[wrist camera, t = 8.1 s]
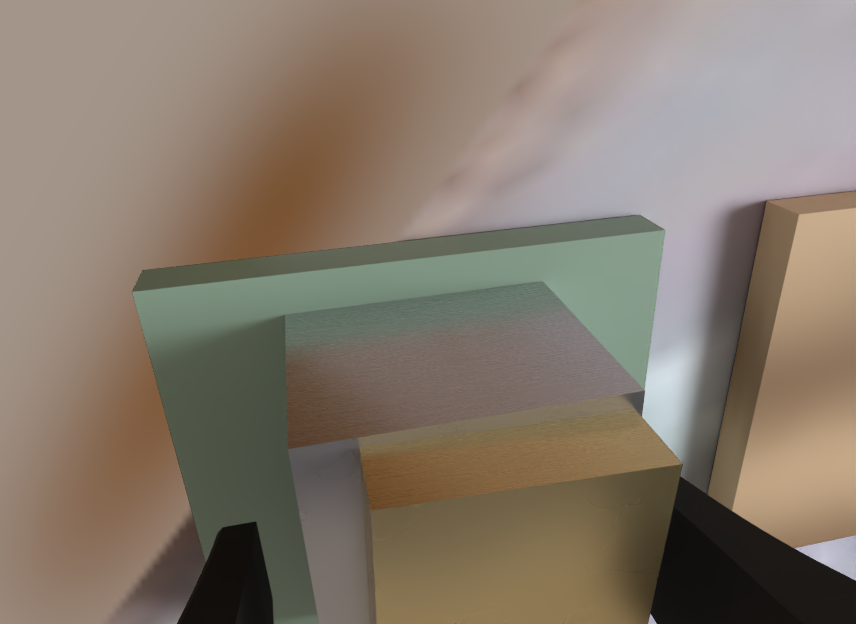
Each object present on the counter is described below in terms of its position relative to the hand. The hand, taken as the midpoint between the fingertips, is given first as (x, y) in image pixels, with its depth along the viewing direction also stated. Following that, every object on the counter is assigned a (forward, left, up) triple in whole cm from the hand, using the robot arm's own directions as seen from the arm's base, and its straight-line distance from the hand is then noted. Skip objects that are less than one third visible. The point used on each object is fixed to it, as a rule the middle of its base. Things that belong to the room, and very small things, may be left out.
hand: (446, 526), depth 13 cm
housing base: (0, 0, -2) cm, 2 cm away
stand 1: (0, 0, -3) cm, 3 cm away
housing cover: (+1, 0, +2) cm, 2 cm away
